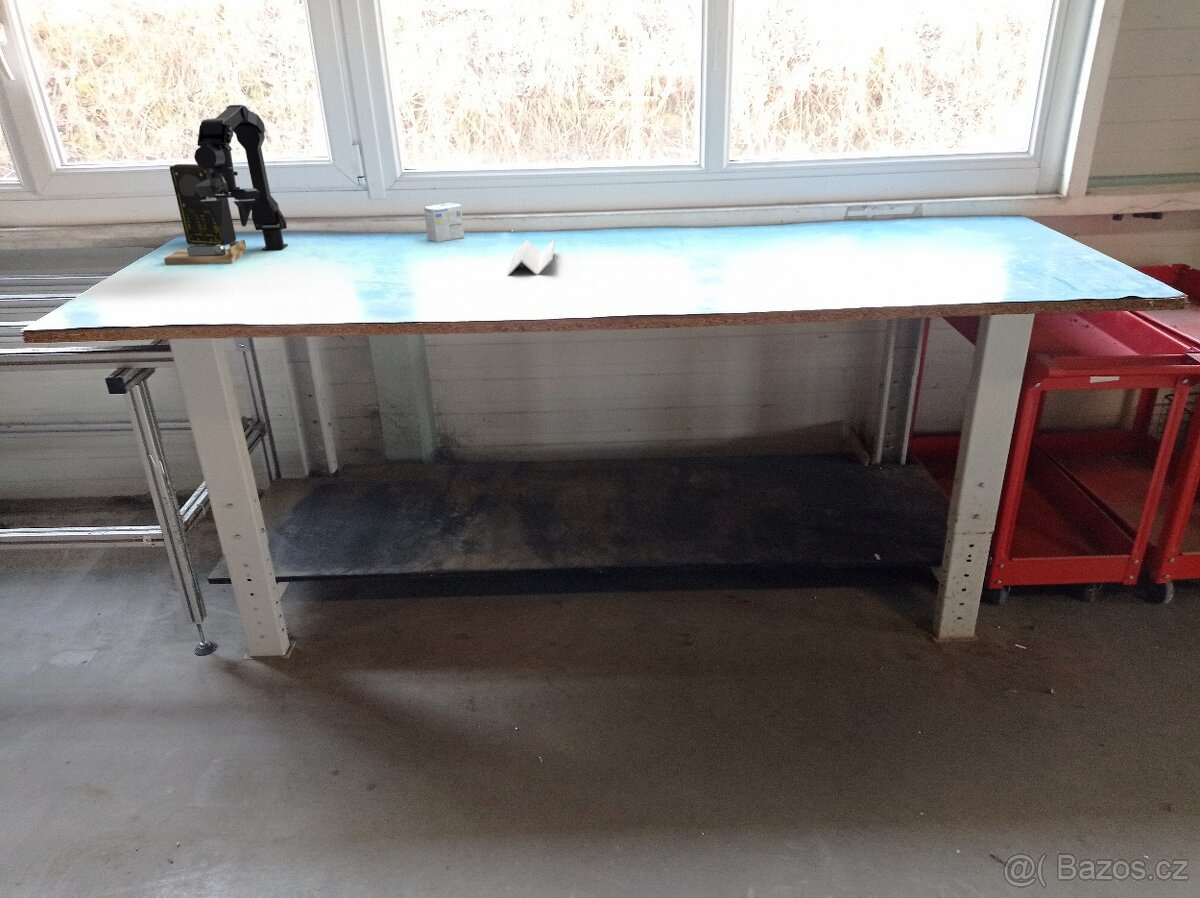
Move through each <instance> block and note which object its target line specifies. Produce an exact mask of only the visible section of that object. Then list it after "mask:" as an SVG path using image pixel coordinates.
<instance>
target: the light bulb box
mask: <svg viewBox="0 0 1200 898" xmlns="http://www.w3.org/2000/svg"><path fill="white" fill-rule="evenodd" d="M423 209H424V217H425V224H426V225H425V227H426V234H427V235H426V236H427V240H428V241H431V242H435V243H439V242H440V243H441V242H446V241H451V240H456V239H457V240H458V239H461V238H462V239H463V238H465V234H464V224H463V223H464V221H463V213H462V205H461V204H459V203H454V202H448V203H441V204H434V205H428V206H424V207H423Z"/></svg>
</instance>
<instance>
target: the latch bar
mask: <svg viewBox="0 0 1200 898" xmlns="http://www.w3.org/2000/svg"><path fill="white" fill-rule="evenodd" d="M225 248H226V247H225V246H224V245H221V244H218V245H188V246H187V247H186V248H185V249H187V252H188V256H197V255H224V254H226V252H225Z"/></svg>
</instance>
